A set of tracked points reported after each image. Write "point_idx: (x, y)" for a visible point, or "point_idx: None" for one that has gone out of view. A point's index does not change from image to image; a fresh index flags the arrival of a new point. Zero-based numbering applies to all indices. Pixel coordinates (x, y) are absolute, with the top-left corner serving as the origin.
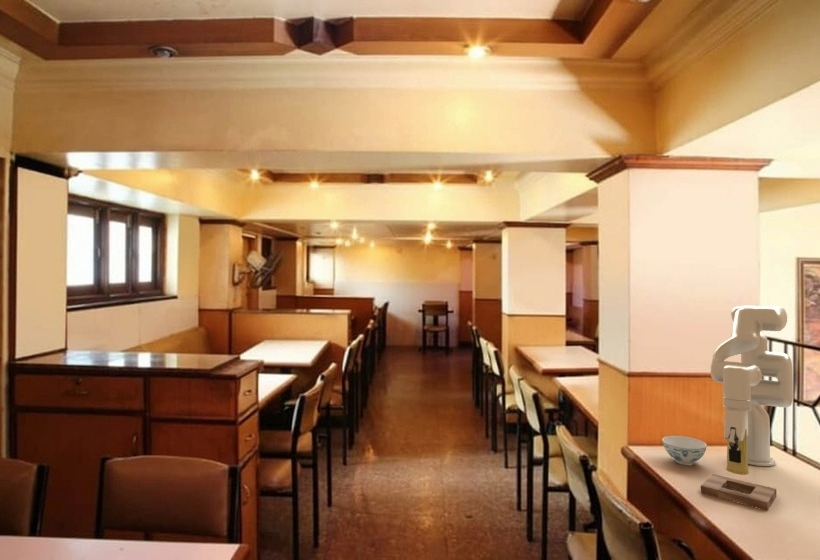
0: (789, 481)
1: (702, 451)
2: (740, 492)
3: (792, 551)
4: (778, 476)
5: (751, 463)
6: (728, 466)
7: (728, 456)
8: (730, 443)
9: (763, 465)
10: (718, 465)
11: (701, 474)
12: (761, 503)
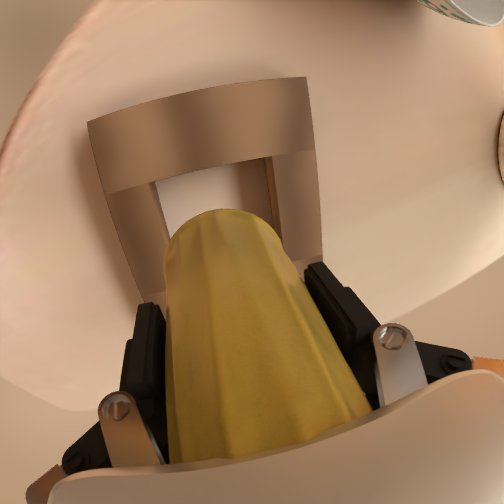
0: (447, 252)
1: (446, 9)
2: None
3: (41, 395)
4: (465, 222)
5: (500, 147)
6: (177, 250)
7: (174, 294)
8: (48, 477)
9: (502, 174)
10: (453, 65)
11: (330, 26)
12: None
